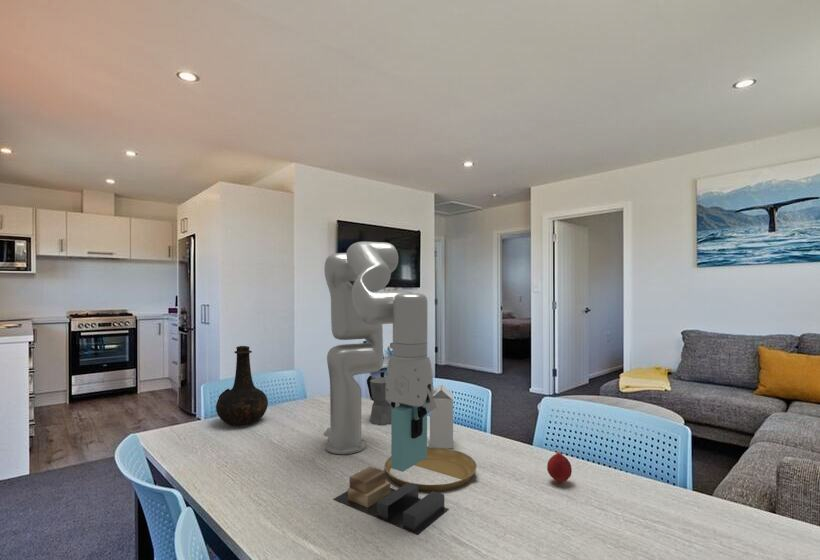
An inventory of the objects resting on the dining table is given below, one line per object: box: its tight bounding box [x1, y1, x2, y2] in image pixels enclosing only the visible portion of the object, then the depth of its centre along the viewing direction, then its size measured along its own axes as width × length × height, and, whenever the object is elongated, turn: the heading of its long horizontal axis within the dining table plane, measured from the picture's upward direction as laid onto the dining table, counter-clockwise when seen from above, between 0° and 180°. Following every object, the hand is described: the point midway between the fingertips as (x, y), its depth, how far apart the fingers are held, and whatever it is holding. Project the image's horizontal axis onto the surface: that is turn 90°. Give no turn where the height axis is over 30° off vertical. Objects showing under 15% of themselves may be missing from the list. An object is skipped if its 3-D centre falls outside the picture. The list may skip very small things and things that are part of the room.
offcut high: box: [349, 466, 387, 494], centre depth 100 cm, size 5×7×2 cm
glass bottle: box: [215, 345, 269, 427], centre depth 157 cm, size 18×18×28 cm
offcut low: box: [347, 480, 391, 507], centre depth 100 cm, size 6×8×2 cm
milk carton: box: [429, 381, 454, 449], centre depth 135 cm, size 7×7×19 cm
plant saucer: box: [384, 446, 478, 492], centre depth 113 cm, size 24×24×3 cm
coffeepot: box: [366, 371, 393, 426], centre depth 159 cm, size 15×9×18 cm, turn 44°
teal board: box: [390, 403, 428, 473], centre depth 93 cm, size 3×9×12 cm, turn 144°
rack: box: [332, 482, 450, 536], centre depth 96 cm, size 24×12×4 cm, turn 54°
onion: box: [546, 450, 573, 484], centre depth 108 cm, size 6×6×8 cm
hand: (409, 433), depth 93 cm, fingers closed on teal board, 3 cm apart
